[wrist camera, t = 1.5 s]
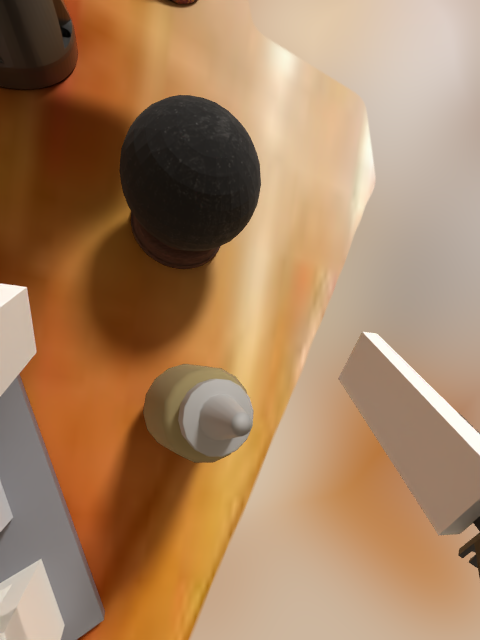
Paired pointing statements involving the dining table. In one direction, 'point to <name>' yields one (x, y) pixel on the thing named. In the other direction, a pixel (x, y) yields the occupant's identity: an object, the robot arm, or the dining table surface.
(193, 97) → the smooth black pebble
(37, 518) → the socket
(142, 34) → the dining table surface
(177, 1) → the bell
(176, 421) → the squeeze bottle
